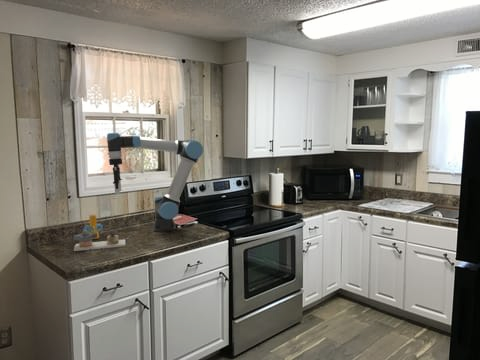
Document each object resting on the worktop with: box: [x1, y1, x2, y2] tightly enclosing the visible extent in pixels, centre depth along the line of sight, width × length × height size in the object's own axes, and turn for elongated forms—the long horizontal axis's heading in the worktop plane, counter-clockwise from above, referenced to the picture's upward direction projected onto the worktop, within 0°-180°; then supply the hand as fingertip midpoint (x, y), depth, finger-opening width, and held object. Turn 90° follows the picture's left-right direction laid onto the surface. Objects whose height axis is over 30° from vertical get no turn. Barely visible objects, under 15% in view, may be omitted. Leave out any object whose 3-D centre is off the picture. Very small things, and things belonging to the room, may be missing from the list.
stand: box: [106, 229, 120, 244], centre depth 226 cm, size 6×6×8 cm
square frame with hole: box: [73, 231, 97, 242], centre depth 221 cm, size 9×9×2 cm
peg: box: [78, 229, 93, 247], centre depth 221 cm, size 7×7×9 cm
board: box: [73, 238, 126, 252], centre depth 224 cm, size 28×11×1 cm, turn 107°
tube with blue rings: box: [83, 214, 104, 240], centre depth 241 cm, size 12×10×15 cm
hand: (118, 192), depth 235 cm, fingers open, 13 cm apart
